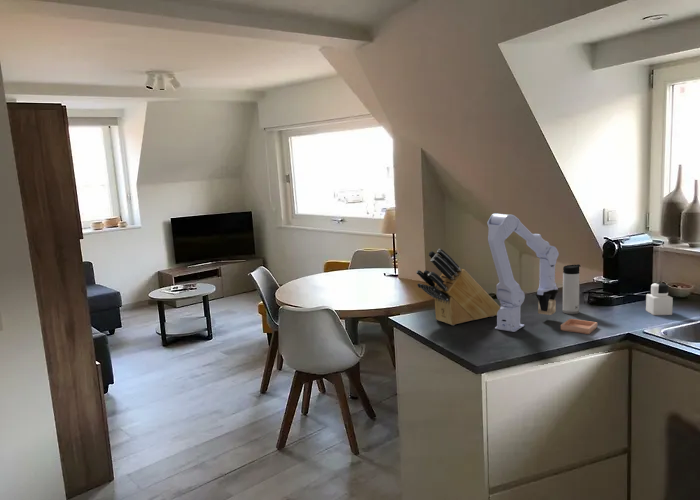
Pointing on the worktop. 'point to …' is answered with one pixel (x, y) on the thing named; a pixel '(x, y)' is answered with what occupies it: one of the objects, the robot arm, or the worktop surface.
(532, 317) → the worktop surface
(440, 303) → the knife block
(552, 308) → the beech block
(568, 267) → the travel mug
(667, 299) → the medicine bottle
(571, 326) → the terracotta tray
